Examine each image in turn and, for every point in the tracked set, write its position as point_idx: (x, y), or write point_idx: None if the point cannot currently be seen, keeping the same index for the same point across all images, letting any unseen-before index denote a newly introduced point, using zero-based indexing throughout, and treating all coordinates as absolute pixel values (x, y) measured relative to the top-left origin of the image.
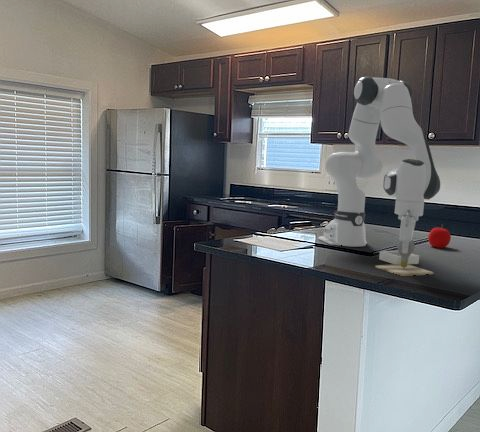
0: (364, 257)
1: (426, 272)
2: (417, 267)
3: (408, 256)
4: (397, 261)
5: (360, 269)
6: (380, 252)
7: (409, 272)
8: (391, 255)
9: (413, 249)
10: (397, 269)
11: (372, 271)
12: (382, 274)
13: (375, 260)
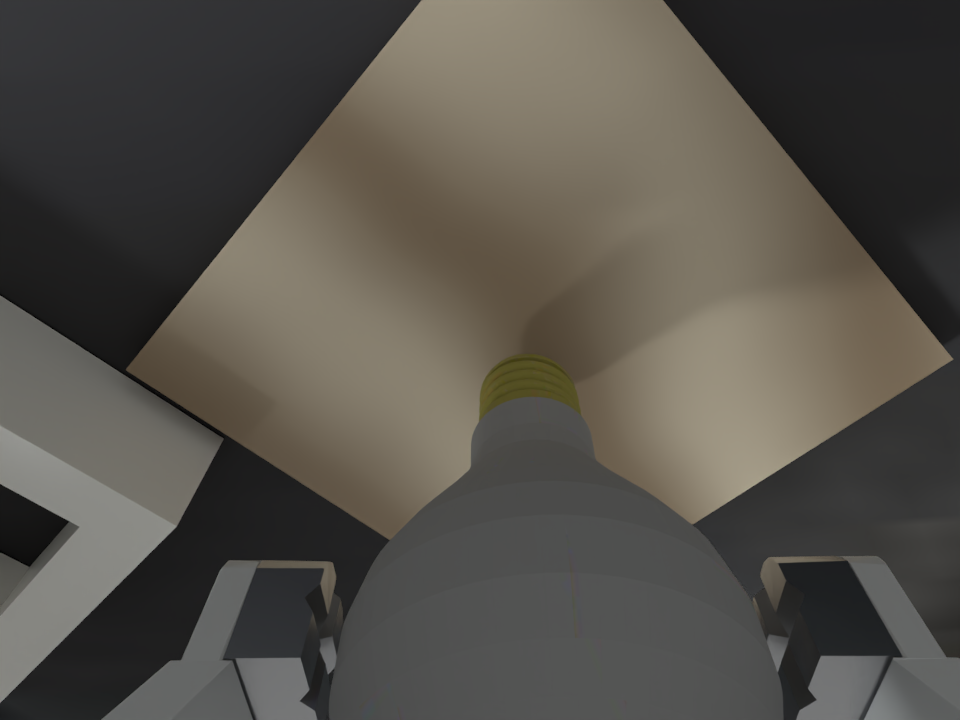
0: (90, 712)
1: (634, 9)
2: (282, 185)
3: (584, 454)
4: (203, 475)
5: None
6: (10, 690)
7: (759, 283)
8: (110, 590)
9: (625, 504)
10: (625, 431)
11: None
12: (876, 532)
13: (148, 634)
